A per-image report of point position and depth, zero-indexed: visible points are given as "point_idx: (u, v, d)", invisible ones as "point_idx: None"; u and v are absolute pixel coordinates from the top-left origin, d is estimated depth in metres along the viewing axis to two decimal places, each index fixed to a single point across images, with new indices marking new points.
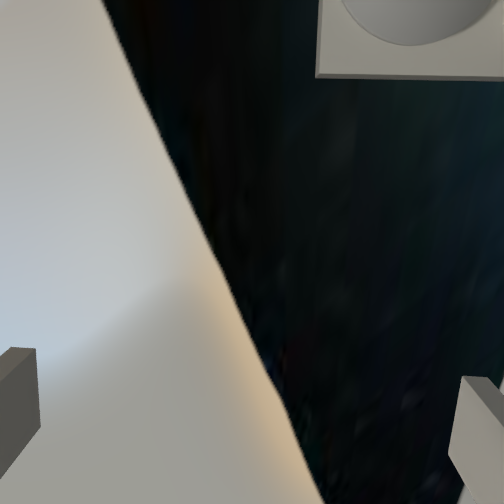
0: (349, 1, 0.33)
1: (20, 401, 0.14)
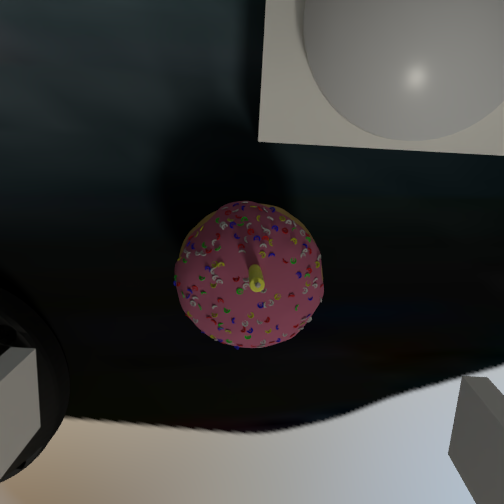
0: (474, 119, 0.25)
1: (20, 401, 0.14)
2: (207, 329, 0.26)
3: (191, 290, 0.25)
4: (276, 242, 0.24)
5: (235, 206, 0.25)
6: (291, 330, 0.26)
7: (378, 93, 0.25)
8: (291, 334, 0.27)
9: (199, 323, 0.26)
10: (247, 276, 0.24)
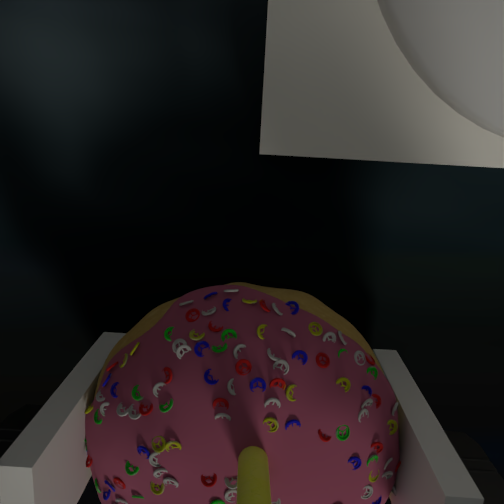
0: None
1: None
2: None
3: (113, 485, 0.11)
4: (304, 392, 0.10)
5: (210, 299, 0.11)
6: None
7: None
8: None
9: None
10: (235, 474, 0.10)
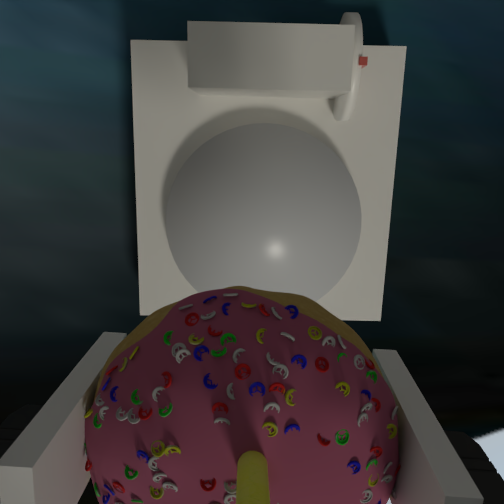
0: (313, 299, 0.30)
1: None
2: None
3: (112, 489, 0.11)
4: (303, 397, 0.10)
5: (209, 303, 0.11)
6: None
7: (232, 281, 0.30)
8: None
9: None
10: (234, 478, 0.10)
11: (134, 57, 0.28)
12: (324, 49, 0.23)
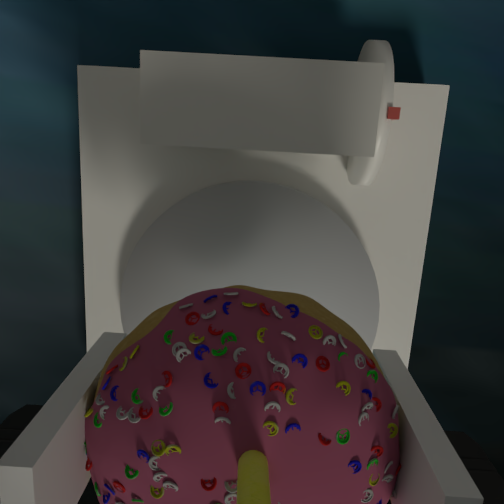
0: None
1: None
2: None
3: (113, 488, 0.11)
4: (304, 396, 0.10)
5: (209, 302, 0.11)
6: None
7: None
8: None
9: None
10: (235, 477, 0.10)
11: (82, 88, 0.21)
12: (338, 96, 0.16)
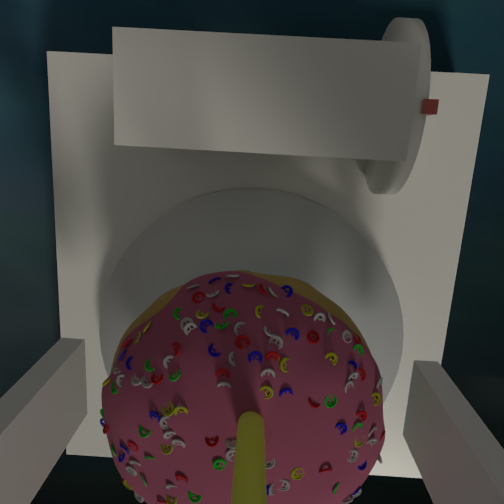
0: None
1: (72, 388, 0.14)
2: None
3: (127, 448, 0.13)
4: (296, 365, 0.12)
5: (213, 283, 0.13)
6: None
7: None
8: None
9: (146, 502, 0.14)
10: (235, 435, 0.12)
11: (53, 79, 0.17)
12: (361, 85, 0.12)
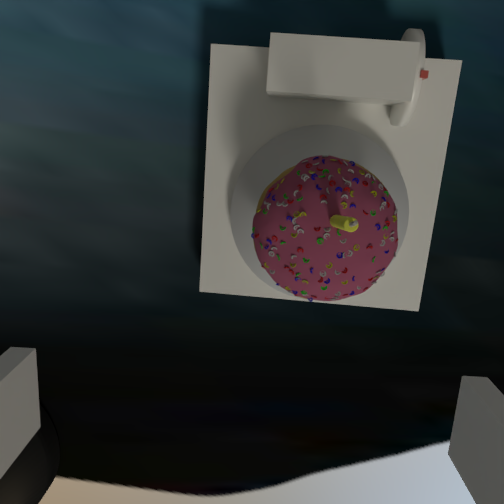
0: None
1: (20, 401, 0.14)
2: (283, 280, 0.27)
3: (271, 241, 0.26)
4: (357, 194, 0.25)
5: (315, 160, 0.26)
6: (365, 283, 0.27)
7: None
8: (364, 287, 0.27)
9: (275, 274, 0.27)
10: (328, 226, 0.25)
11: (213, 59, 0.31)
12: (390, 62, 0.25)
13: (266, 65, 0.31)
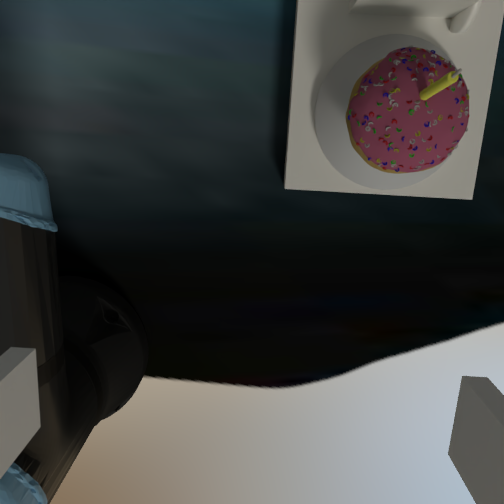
0: (424, 176, 0.39)
1: (20, 401, 0.14)
2: (376, 152, 0.33)
3: (368, 117, 0.32)
4: (440, 73, 0.31)
5: (403, 50, 0.32)
6: (443, 153, 0.33)
7: (362, 160, 0.39)
8: (442, 157, 0.33)
9: (369, 148, 0.33)
10: (418, 99, 0.31)
11: None
12: None
13: None
